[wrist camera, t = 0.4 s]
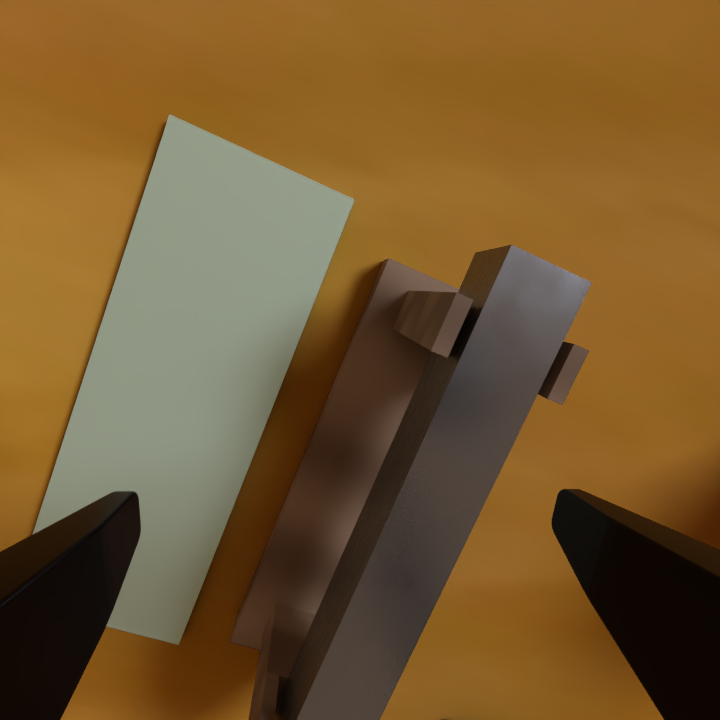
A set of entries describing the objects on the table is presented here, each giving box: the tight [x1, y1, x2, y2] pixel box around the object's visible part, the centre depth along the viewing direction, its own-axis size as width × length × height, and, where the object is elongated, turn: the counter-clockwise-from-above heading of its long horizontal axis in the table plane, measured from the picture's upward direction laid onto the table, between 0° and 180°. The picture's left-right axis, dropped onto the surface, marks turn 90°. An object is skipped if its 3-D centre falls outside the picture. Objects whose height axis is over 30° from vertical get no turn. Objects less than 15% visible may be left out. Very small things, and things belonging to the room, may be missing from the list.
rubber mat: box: [32, 114, 354, 645], centre depth 21 cm, size 26×9×1 cm, turn 157°
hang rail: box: [275, 245, 591, 720], centre depth 16 cm, size 24×3×3 cm, turn 157°
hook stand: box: [230, 259, 589, 720], centre depth 19 cm, size 22×8×8 cm, turn 157°
